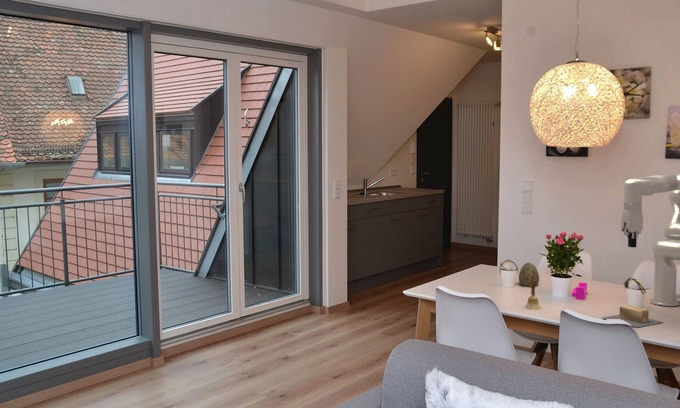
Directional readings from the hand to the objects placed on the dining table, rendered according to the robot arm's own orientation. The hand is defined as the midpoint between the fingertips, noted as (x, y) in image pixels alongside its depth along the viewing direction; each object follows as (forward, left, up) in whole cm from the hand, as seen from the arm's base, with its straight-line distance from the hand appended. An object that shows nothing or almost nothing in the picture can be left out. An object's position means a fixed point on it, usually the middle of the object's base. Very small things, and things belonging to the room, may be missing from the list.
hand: (632, 246), depth 284 cm
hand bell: (+32, -29, -32) cm, 53 cm away
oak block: (+12, +9, -28) cm, 32 cm away
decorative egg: (+2, -62, -32) cm, 70 cm away
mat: (+11, +9, -31) cm, 34 cm away
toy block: (-4, -33, -32) cm, 46 cm away
